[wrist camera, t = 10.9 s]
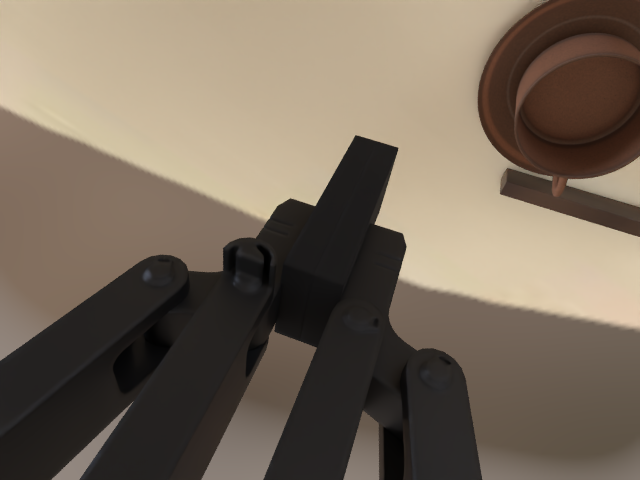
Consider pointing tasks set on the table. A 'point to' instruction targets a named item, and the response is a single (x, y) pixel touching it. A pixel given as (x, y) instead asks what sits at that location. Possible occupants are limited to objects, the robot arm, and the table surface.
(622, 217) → the bay
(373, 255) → the robot arm
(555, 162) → the cup and saucer
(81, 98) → the table surface
